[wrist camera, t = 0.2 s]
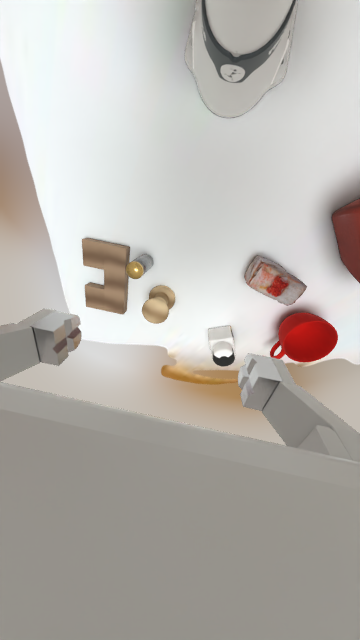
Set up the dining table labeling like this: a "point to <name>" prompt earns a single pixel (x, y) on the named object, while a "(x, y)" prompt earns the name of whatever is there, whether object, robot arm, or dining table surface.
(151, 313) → the tan spool
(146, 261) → the gold lidded spice jar
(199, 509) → the robot arm
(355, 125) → the dining table surface
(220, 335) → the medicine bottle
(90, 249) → the notch board
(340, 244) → the plant pot
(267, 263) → the food item
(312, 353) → the ceramic cup
